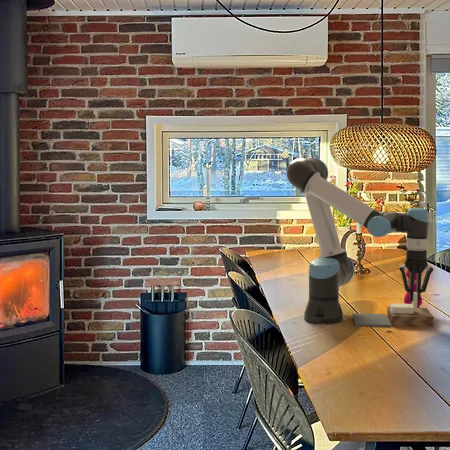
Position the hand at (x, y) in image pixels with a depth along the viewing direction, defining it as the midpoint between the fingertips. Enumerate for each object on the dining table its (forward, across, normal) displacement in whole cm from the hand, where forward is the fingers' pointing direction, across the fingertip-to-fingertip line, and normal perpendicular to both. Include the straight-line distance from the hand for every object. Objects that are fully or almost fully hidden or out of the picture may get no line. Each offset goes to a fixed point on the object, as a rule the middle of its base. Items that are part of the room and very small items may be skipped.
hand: (414, 309), depth 230 cm
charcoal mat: (+5, -16, 0) cm, 17 cm away
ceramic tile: (+1, -5, 0) cm, 5 cm away
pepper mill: (+5, +2, +16) cm, 17 cm away
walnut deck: (+5, -2, 0) cm, 5 cm away
